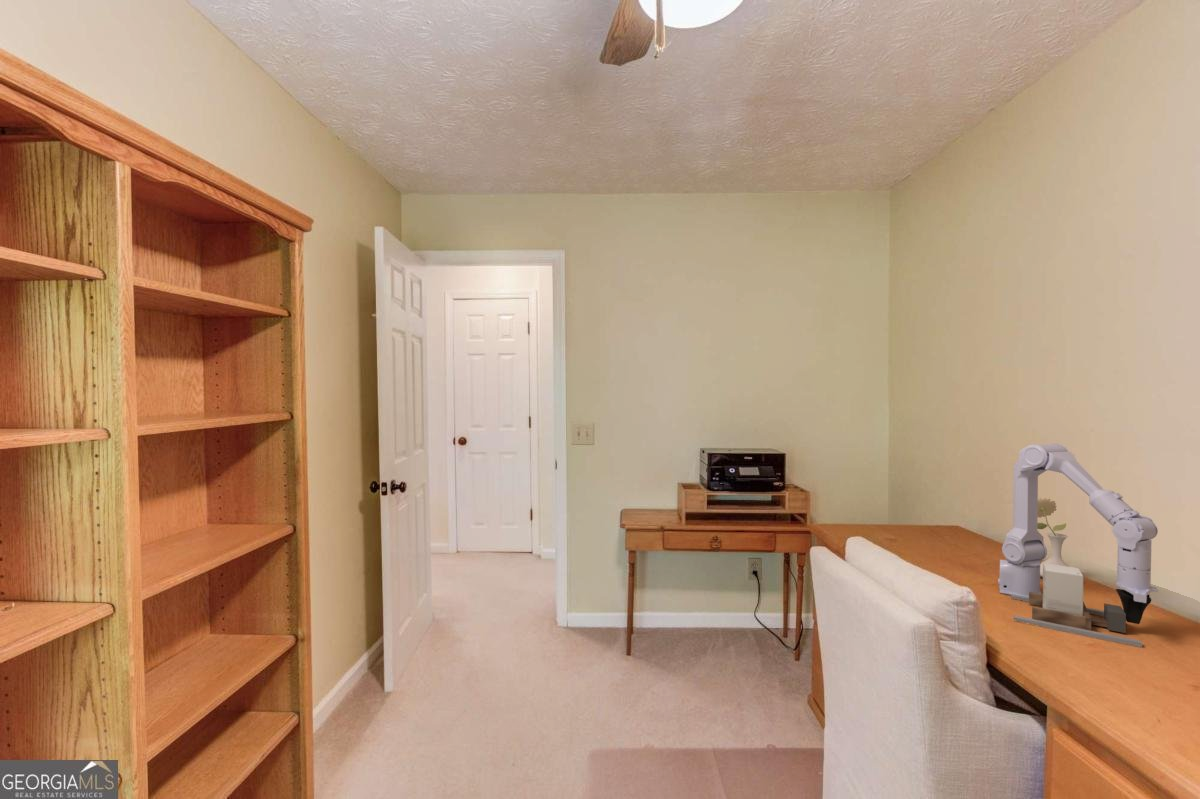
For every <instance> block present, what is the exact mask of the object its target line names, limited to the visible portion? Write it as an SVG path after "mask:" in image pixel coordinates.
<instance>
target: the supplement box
mask: <svg viewBox="0 0 1200 799" xmlns="http://www.w3.org/2000/svg"><path fill="white" fill-rule="evenodd" d="M1084 578H1085V576H1084V575H1083V573H1082V572H1081V570H1080V568H1078V567H1073V566H1070V567H1067V566H1060V565H1053V564H1046V563H1043V577H1042V594H1043V606H1042V608H1044V609H1049V610H1054V611H1060V612H1065V613H1070V614H1075V615H1081V616H1083V602H1084Z"/></svg>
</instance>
